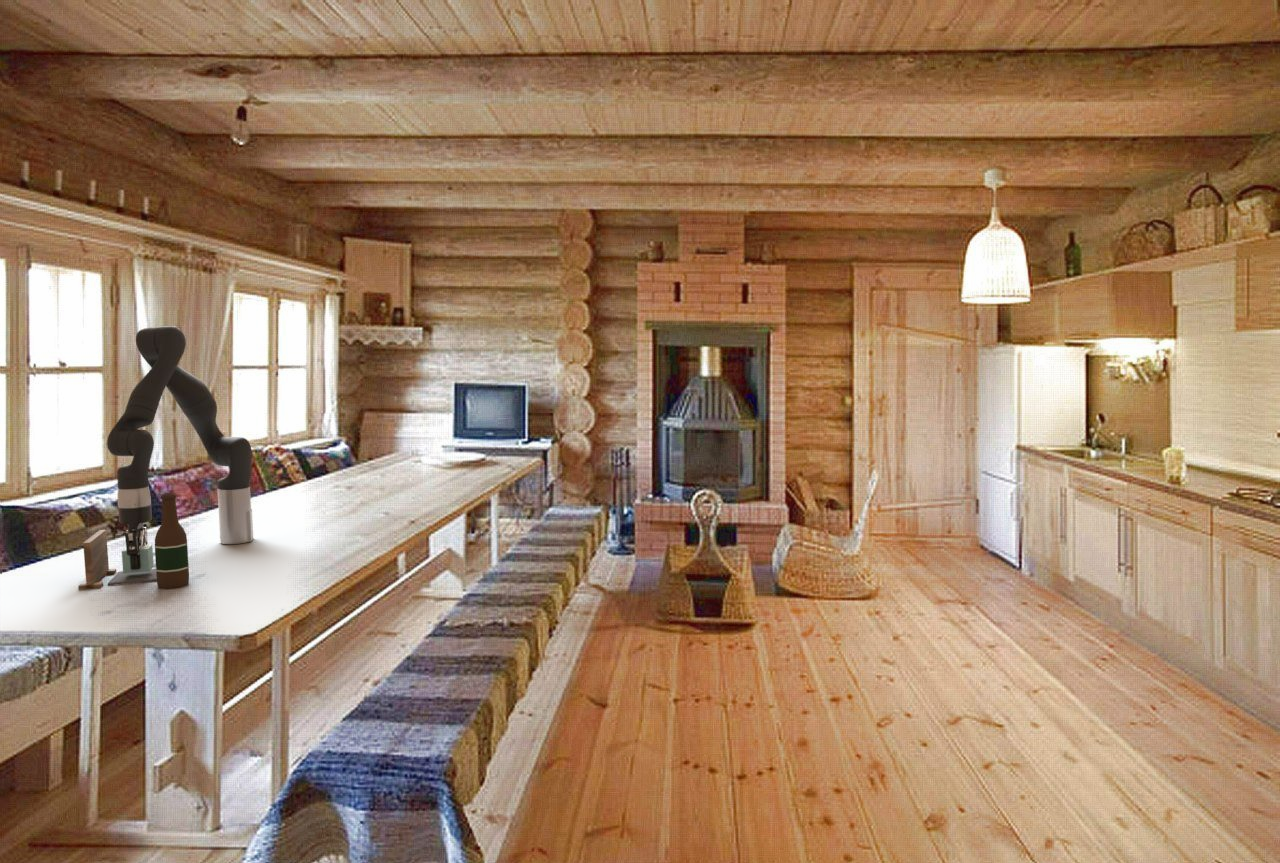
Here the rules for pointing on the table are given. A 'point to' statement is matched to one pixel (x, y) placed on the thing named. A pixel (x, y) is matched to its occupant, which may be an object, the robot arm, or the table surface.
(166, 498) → the beer bottle
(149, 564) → the letter cube
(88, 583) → the wooden footed board
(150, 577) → the mat
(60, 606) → the table surface
